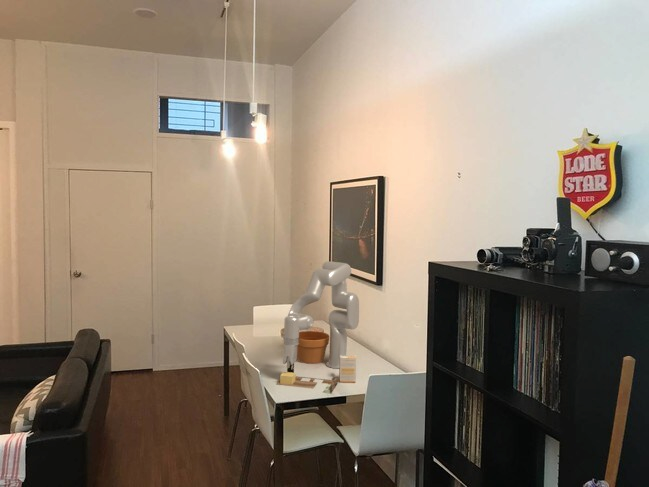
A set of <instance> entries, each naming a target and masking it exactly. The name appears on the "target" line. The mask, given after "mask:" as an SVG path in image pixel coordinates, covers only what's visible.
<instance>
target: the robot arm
mask: <svg viewBox="0 0 649 487" xmlns="http://www.w3.org/2000/svg"><path fill="white" fill-rule="evenodd" d="M351 273H352V267H351V266H350V265H349V264H348V263H346V262H338V261H326V262H323V263H322V268H317V269H315V270H314V271H313V272H312V275H311V277H310V279H309V282H308V285H307V287H306V290H305V292H304V293H303V294H302V295H301V296H300V297H298V298H297V299H296V300H295V301H294V302H293V304H292V305H291V307H290V309H289V312H288V314H287V316H285V318H284V322H283V323H284V324H283V325H284V329H283V330H284V331H283V332H284V333H283V345H284V348H283V358H282V364H284V365H285V364H286V372H292V373H295V363H296V361H297V360H298V357H297V345H298V344H299V332H300V331H308V330H309V329H311V328H312V327H314V326H313V325H314V319H313V317H312V316H311V315H309V314H304V313H301V311H302V310H303V309H304V308H306V306H308V305H310V304H313V303H315V302H319V300H321V297H322V295H323V293H324V289H325V287H327V286H328V287H331V305H332V306H333V307H334V308H337V309H334V310H331V312H330V313H329V316H328V323H329V332H330V333H329V354H328V355H329V356H328V357H329V358H328V360H329V361H327V362H326V367H328V368H330V369H331V368H332V369H339V368H340V355H347V344H348V334H347V331H346V330H356V328H358V326H359V323H360V300H359V296H358V295H357V294H356V293H354V292H350V291H348V290H347V289H348V288H347V287H348V285H347V283H348V282H347V279H348V278H349V277H350V276H351ZM342 309H343V310H342Z"/></svg>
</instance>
